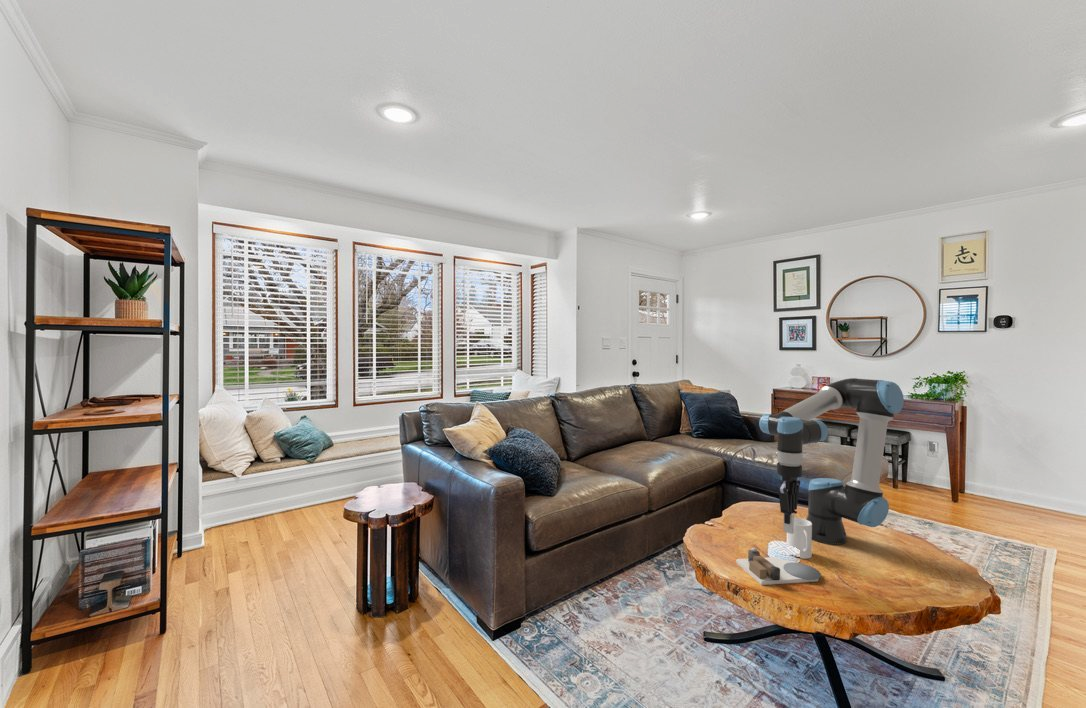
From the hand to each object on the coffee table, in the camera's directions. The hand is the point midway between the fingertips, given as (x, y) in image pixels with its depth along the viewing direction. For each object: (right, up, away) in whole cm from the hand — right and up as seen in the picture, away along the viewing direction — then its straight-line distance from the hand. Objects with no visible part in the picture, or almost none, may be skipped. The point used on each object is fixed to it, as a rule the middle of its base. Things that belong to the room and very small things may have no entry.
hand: (788, 532), depth 157 cm
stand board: (-3, -14, 0) cm, 14 cm away
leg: (-9, -12, -2) cm, 15 cm away
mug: (+11, -14, +13) cm, 21 cm away
